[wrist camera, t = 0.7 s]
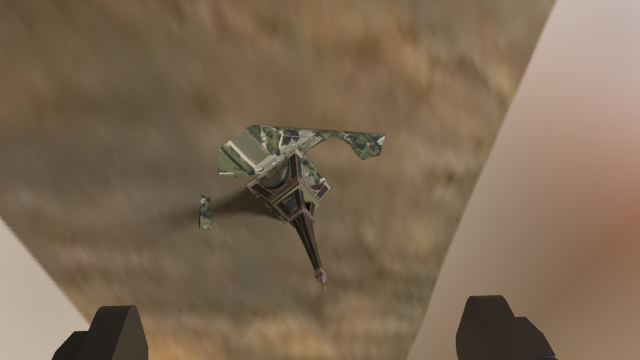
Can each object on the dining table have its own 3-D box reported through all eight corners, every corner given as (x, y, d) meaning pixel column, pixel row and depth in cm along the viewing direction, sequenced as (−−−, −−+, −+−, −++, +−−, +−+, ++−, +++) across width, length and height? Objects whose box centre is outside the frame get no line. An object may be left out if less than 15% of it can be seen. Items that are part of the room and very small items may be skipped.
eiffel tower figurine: (385, 129, 39) (463, 217, 27) (361, 227, 43) (420, 337, 32) (203, 117, 34) (207, 216, 23) (199, 228, 39) (200, 354, 28)
